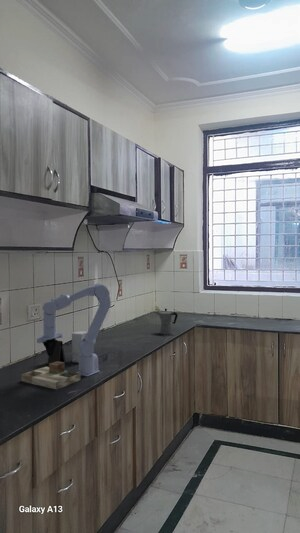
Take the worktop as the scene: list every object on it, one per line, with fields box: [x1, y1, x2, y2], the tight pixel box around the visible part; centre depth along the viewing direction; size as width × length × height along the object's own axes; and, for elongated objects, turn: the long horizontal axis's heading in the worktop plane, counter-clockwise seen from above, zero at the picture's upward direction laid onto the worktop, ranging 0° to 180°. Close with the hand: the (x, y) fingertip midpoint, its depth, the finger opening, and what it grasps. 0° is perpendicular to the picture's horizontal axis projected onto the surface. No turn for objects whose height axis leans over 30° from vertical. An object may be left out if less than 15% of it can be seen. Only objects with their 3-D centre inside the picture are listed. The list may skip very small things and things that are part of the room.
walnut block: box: [48, 361, 66, 374], centre depth 187 cm, size 5×5×4 cm
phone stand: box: [47, 340, 66, 366], centre depth 212 cm, size 9×6×12 cm, turn 166°
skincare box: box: [71, 330, 88, 364], centre depth 216 cm, size 8×7×16 cm
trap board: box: [20, 366, 82, 390], centre depth 183 cm, size 15×22×3 cm, turn 58°
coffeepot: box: [156, 308, 179, 336], centre depth 287 cm, size 15×9×18 cm, turn 70°
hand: (50, 355), depth 188 cm, fingers closed
